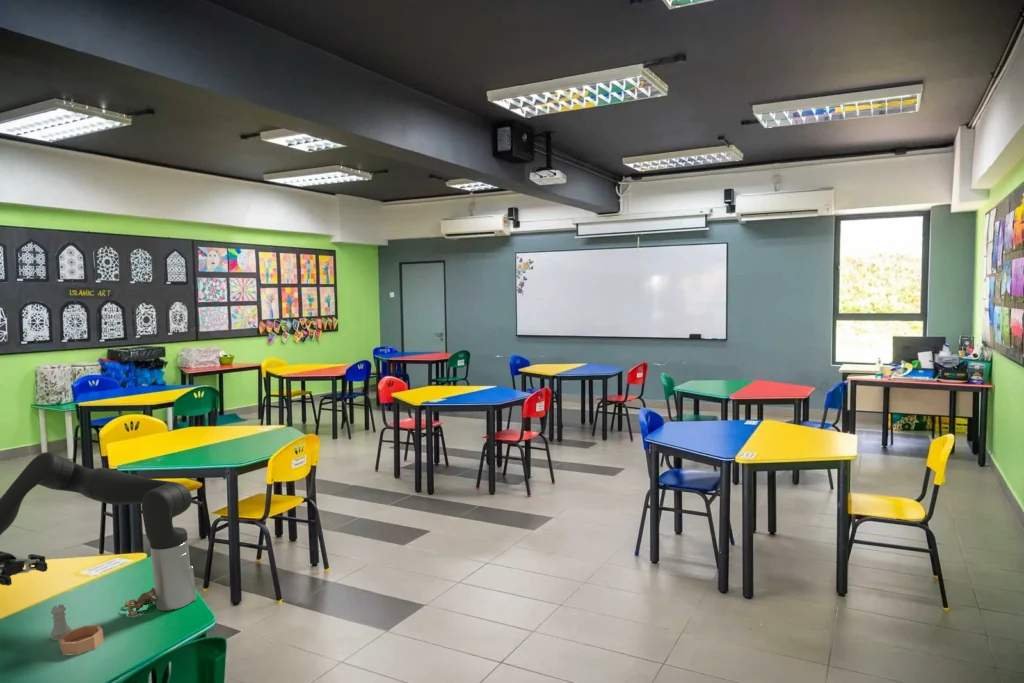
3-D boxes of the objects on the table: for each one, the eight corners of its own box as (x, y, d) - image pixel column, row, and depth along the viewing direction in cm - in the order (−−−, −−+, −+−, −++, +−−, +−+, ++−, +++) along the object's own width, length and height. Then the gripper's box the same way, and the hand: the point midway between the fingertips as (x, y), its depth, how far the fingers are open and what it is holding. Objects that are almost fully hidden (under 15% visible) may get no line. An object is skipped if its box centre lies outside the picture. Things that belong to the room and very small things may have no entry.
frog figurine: (150, 594, 193) (149, 581, 192) (174, 603, 186) (173, 589, 186) (109, 611, 183) (107, 598, 182) (133, 621, 177) (132, 608, 176)
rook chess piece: (68, 630, 173) (65, 600, 172) (74, 635, 170) (71, 605, 169) (48, 638, 169) (44, 607, 169) (54, 643, 166) (50, 612, 166)
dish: (97, 632, 171) (96, 621, 170) (106, 644, 165) (105, 632, 164) (58, 646, 165) (56, 635, 164) (66, 659, 159) (64, 647, 158)
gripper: (-41, 562, 173) (-5, 571, 166) (19, 541, 186) (55, 549, 179) (-37, 589, 174) (-1, 600, 167) (22, 567, 187) (58, 576, 180)
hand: (28, 574), depth 173 cm, fingers open, 8 cm apart
